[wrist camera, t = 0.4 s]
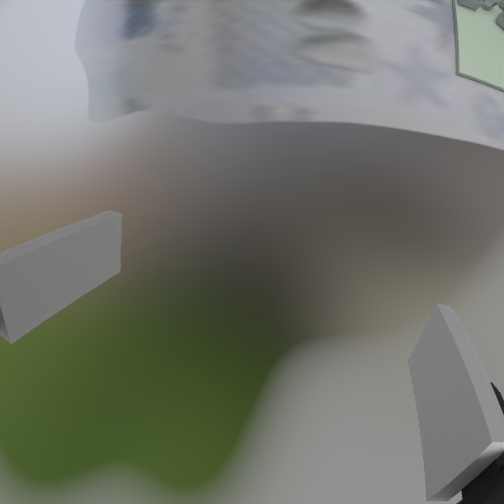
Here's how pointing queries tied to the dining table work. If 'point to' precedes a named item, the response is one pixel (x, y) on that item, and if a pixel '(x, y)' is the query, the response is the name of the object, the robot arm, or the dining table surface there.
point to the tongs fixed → (481, 4)
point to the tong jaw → (501, 19)
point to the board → (479, 45)
